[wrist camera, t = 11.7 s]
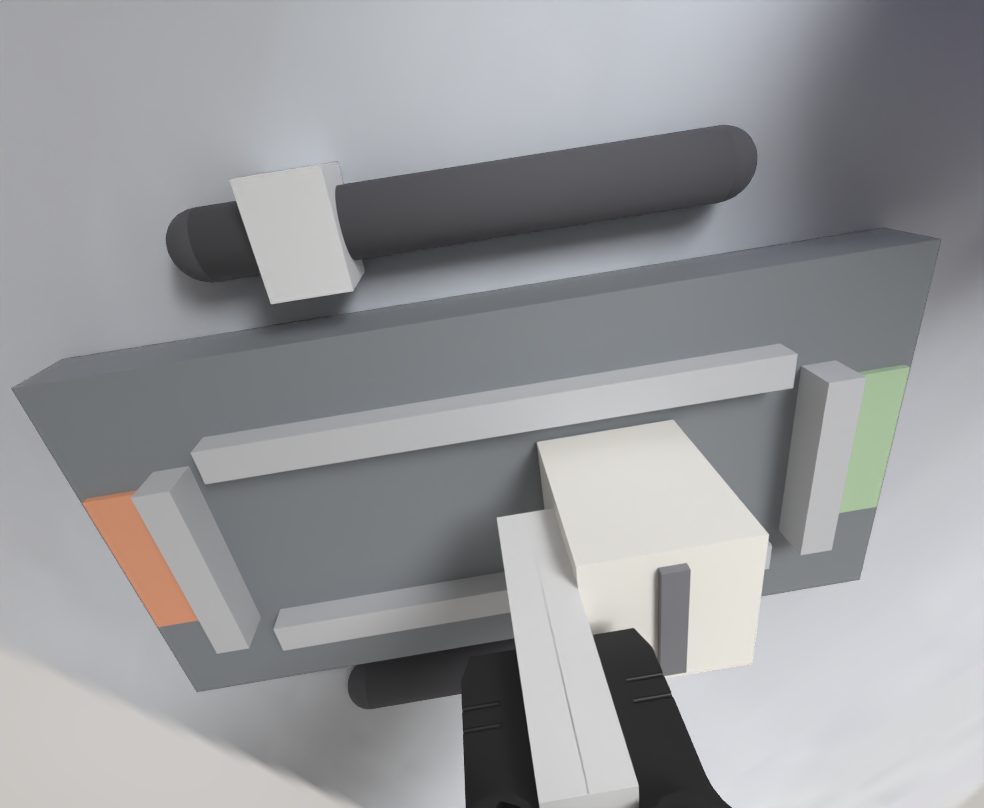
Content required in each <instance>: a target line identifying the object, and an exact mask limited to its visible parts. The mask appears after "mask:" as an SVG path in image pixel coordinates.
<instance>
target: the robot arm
mask: <svg viewBox="0 0 984 808" xmlns="http://www.w3.org/2000/svg"><path fill="white" fill-rule="evenodd" d="M497 524H498V530H499V537H500V544H501V551H502V557H503V564H504V571H505V578H506V584H507V591H508V598H509V605H510V611H511V618H512V625H513V632H514V638H515V645H516V649H514V650H508V651H502V652H496V653H490V654H484V655H479V656H473V657H470V658H469V661H468V664H467V666H466V669H465V672H464V675H463V677H462V680H461V692H462V710H463V712H462V719H463V746H464V773H465V799H466V808H732V807H730V806H729V805H728V804H727V803H726V802H725V801H723V800H722V798H721V797H720V796H719V795H718V793H717V792H716V791H715V790H714V789H713V787H712V785H711V783H710V782H709V780H708V778H707V776H706V774H705V772H704V769H703V767H702V765H701V762H700V760H699V757H698V755H697V753H696V750H695V748H694V746H693V743H692V741H691V738H690V736H689V734H688V731H687V729H686V726H685V724H684V722H683V719H682V717H681V714H680V712H679V710H678V707H677V705H676V702H675V700H674V698H673V697H672V694H671V691H670V688H669V686H668V683H667V681H666V679H665V677H664V676H663V671H662V669H661V667H660V664H659V662H658V659H657V657H656V655H655V652H654V650H653V647H652V646H651V645H650V644H649V643H648V642H647V641H646V640H645V639H644V638H643V637H642V636H641V635H640V634H639V633H638V632H637V631H636V629H635V628H630V629H624V630H618V631H612V632H607V633H601V634H595V635H592V632H591V629H590V625H589V622H588V619H587V616H586V612H585V609H584V606H583V603H582V599H581V596H580V593H579V590H578V587H577V584H576V581H575V578H574V574H573V571H572V568H571V564H570V561H569V558H568V555H567V551H566V548H565V545H564V542H563V538H562V535H561V532H560V528H559V525H558V522H557V519H556V515H555V512H554V509H553V508H552V509H545V510H539V511H533V512H527V513H521V514H515V515H509V516H503V517H497Z"/></svg>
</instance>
